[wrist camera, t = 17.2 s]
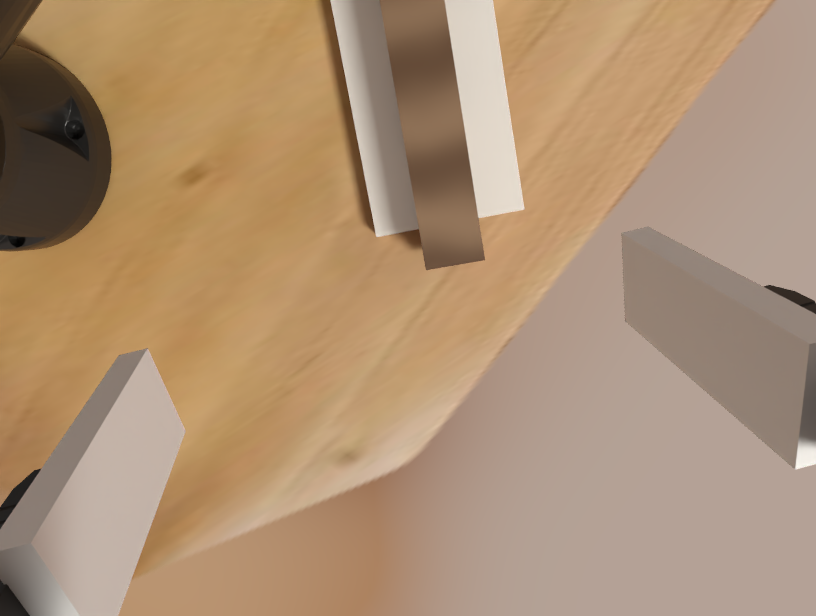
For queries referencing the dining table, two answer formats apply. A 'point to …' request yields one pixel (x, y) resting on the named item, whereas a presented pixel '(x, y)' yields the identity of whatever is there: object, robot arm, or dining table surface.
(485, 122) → the cream platter
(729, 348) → the robot arm
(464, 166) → the walnut block
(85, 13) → the dining table surface
